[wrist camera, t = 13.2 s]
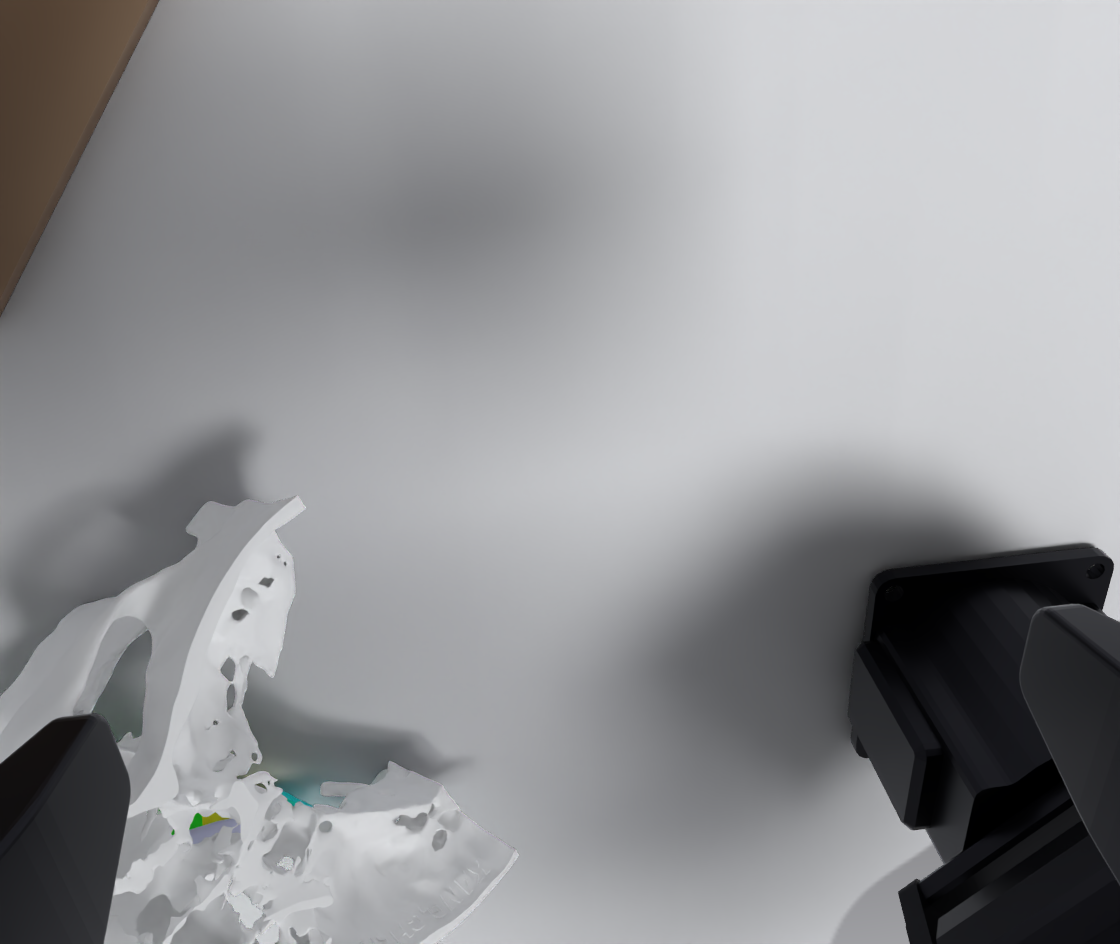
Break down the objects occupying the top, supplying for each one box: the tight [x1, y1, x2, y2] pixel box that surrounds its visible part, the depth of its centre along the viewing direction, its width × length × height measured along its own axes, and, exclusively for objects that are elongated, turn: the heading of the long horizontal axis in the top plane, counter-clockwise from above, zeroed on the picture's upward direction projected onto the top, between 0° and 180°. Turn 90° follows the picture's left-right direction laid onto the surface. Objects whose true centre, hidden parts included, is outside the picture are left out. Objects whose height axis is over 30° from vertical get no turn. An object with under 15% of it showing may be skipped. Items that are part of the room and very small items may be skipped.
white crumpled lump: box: [0, 496, 519, 944], centre depth 23 cm, size 12×9×10 cm
